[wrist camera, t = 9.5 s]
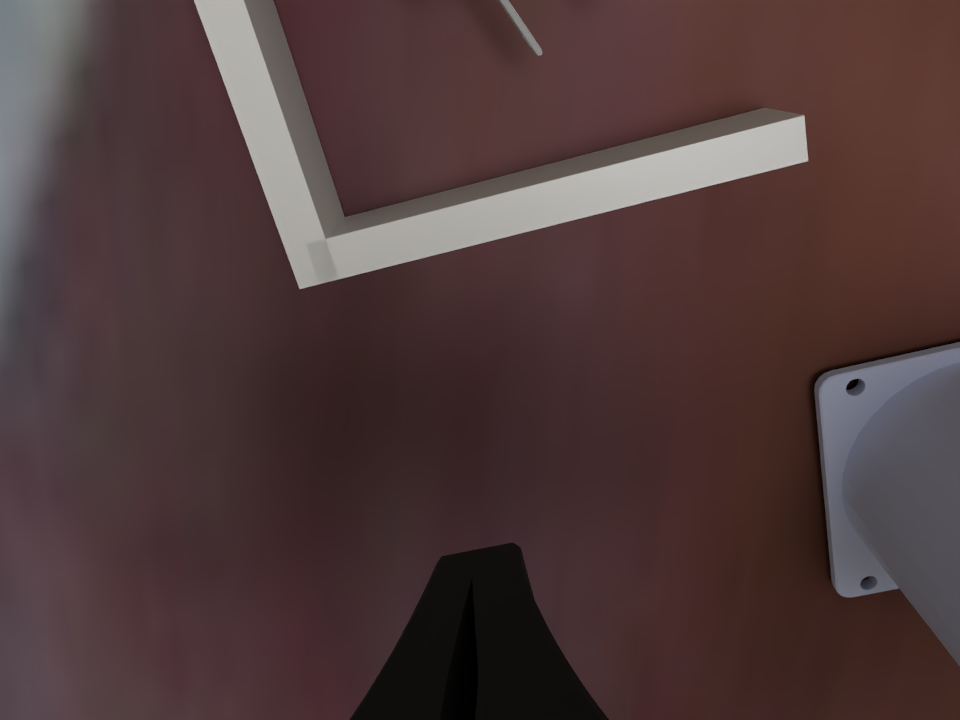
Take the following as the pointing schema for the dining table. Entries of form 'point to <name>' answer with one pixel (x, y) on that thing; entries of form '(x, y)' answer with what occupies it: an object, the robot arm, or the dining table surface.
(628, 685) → the dining table surface
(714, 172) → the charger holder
